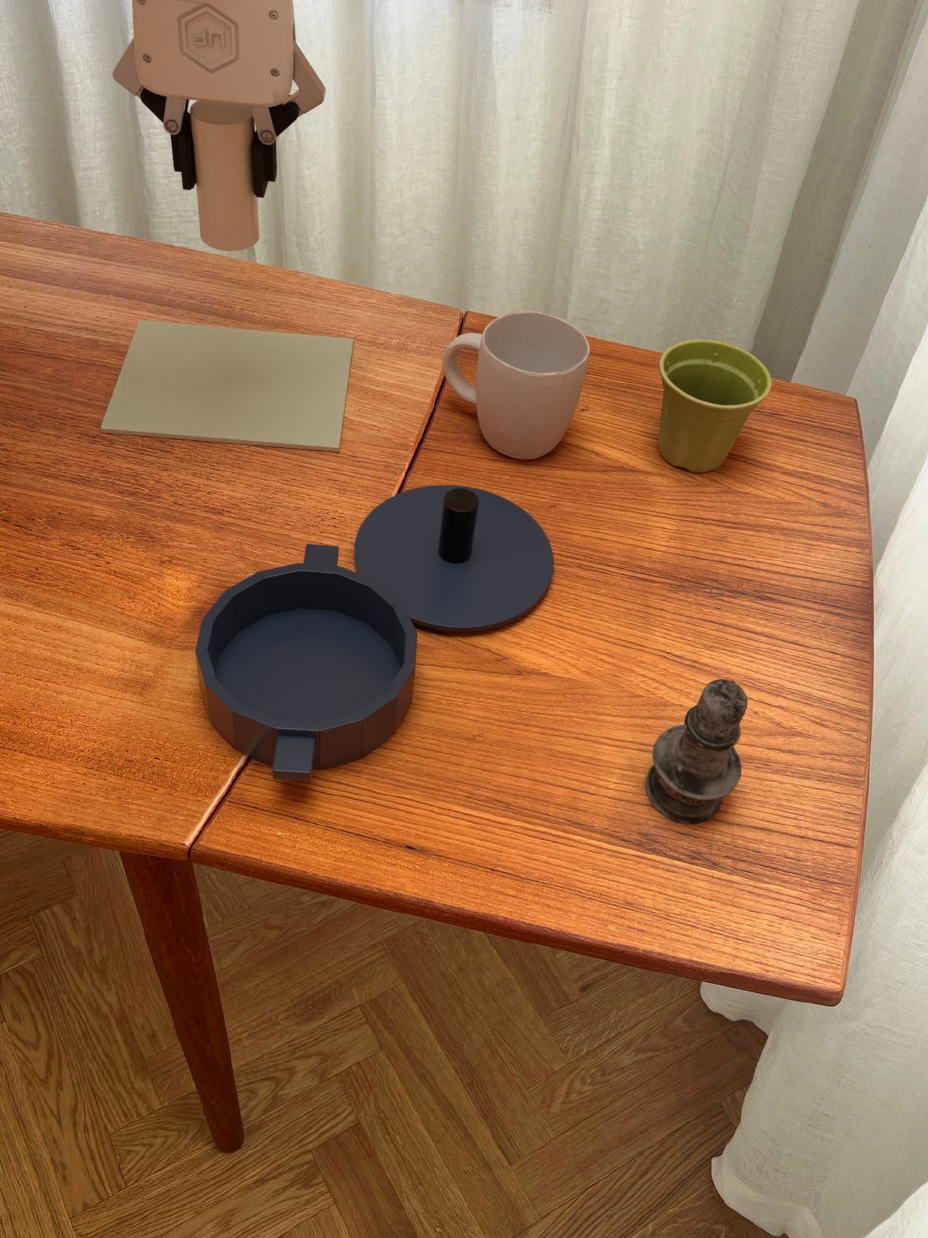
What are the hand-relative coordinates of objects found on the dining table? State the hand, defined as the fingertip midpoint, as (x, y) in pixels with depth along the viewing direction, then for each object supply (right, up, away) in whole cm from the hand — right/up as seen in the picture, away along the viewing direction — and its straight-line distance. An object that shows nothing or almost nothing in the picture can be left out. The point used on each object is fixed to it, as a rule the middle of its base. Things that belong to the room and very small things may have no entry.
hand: (226, 182), depth 81 cm
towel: (-3, -11, +19) cm, 22 cm away
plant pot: (+37, -17, +19) cm, 45 cm away
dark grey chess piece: (+32, -44, -6) cm, 54 cm away
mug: (+21, -15, +18) cm, 31 cm away
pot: (+6, -36, -3) cm, 37 cm away
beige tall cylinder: (0, -3, +3) cm, 4 cm away
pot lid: (+16, -27, +6) cm, 32 cm away
